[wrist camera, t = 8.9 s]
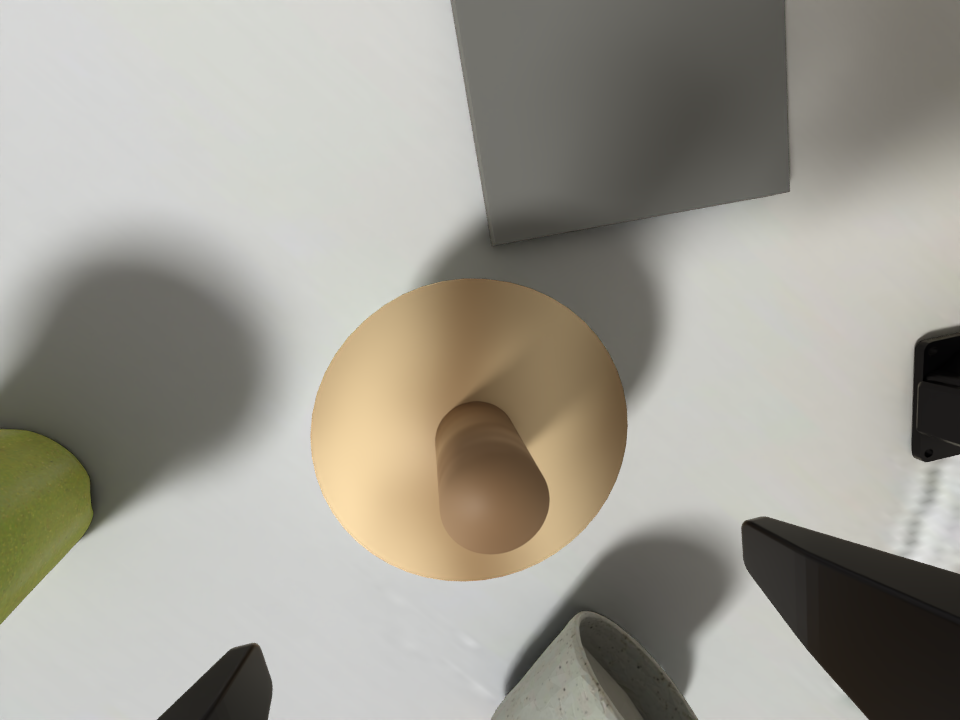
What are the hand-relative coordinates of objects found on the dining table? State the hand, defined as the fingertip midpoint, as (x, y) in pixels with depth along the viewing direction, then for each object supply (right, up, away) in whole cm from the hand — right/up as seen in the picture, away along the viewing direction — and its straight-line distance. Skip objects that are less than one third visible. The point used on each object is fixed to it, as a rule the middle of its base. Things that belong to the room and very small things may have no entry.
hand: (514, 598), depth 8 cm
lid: (-1, +2, +8) cm, 9 cm away
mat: (+5, +17, +10) cm, 20 cm away
